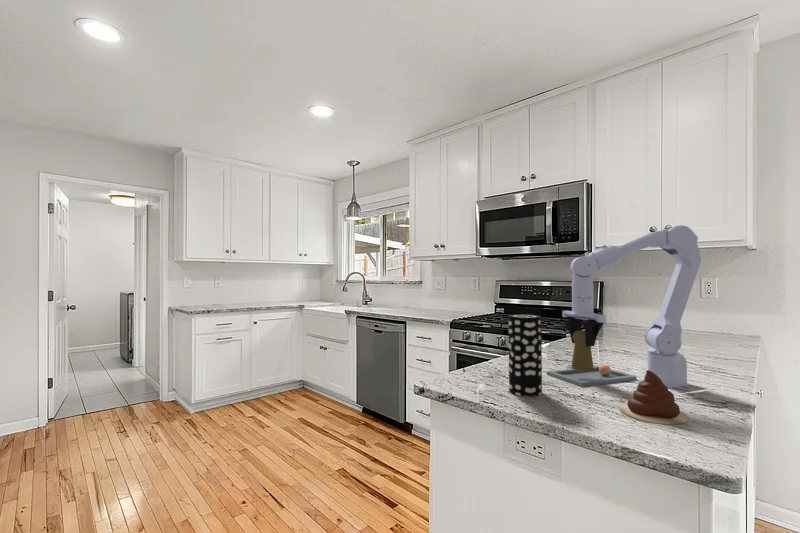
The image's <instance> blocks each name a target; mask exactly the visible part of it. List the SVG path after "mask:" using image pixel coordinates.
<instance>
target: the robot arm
mask: <svg viewBox="0 0 800 533" xmlns="http://www.w3.org/2000/svg"><path fill="white" fill-rule="evenodd" d="M698 241H699V237H698V236H697V234H696V233H695V232H694V231H693V230H692V229H691V228H690V227H688V226H687V225H675V226H674V227H669V228H664V229H661V230H656V231H653V232H649V233H646V234H644V235H642V236H639V237H637V238H635V239H632V240H630V241H628V242H626V243H623V244H620V245H618V246H615V245H612V244H609V245H606V244H603V245H601V246H600V248H599V249H596V250H594V251H592V252H588V251H587V252H585V253H584V255H582V256H579V257H576V258H573V260H572V261H571V263H570V266H569V270H570V273H571V274H572V276H571V280H572V281H571V310H562V312H561V314H562V318H566V319H563V322H564V324H565V326H566V328H567V329H568V332H569V336H570V338H571V342H572V344H575V341H574V340H573V333H574V332H575V331H580V330H581V328H582V326H583V329H584V331H585V333H586V344H587V346H589V347H590V346H591V347H595V344H596V340H597V337H598V334H599V332H600V330H601V328H602V327H603V326H604V323H606V315H605V314H600V313H595V311H594V280H593V279H594V278H593V276H594V275H593V274H594V273H595V272H600V271H602V270H605V269H607V268H609V267H612V266H614V265H617V264H619V263H620V262H621V260H622V257H625V256H628V255H630V254H632V253H633V254H634V253H636V252H639V251H641V250H643V249H647V248H660V249H661V250H662V251H664V252H666V253H667V254H669V255H670V256H671V258H672V259H673V261H674V262H675V267H674V270H673V271H672V276H671V278H670V282H669V284H668V288H667V290H666V293H665V297H664V299H663V302H662V305H661V308H660V311H659V314H658V315H657V317H656V318H655V319H654V320H653V322H652V324H651V326H650V327H649V328H648V329H647V330H646V331H645V334H644V340H645V343H646V344H647V345H648V349H647V370H649V371H651V372H653V373H655V374H656V375H657V376H658V377H659V378H660V379H661V380H662V382H663V384H664V385H666V386H667V388H668V389H671V388H677V387H684V386H690V385H691V384H690V383H688V365H687V364H688V362H687V360H686V359H687V358H686V357H685V356H684V355H683V354H682V353H681V352H679V351H680V349H681V348H682V343H683V341H682V338H681V337H682V333H683V328H682V324H681V321H682V318H683V315H684V312H685V310H686V307H687V304H688V300H689V298H690V294H691V292H692V290H693V286H694V283H695V280H696V278H697V275H698V272H699V268H700V266H701V263H702V258H701V253H700V250H699V245H698ZM643 380H644V379H641V380H640V382H641V381H643Z"/></svg>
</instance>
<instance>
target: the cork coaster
mask: <svg viewBox="0 0 800 533" xmlns="http://www.w3.org/2000/svg"><path fill="white" fill-rule="evenodd" d="M619 411H620V413H622V414H623V415H625V416H627V417H629V418H632V419H634V420H637V421H640V422H641V421H642V422H646V423H649V424H650V423H651V424H657V425H667V426H668V425H669V426H670V425H671V426H672V425H682V424H685V423H687V422H689V417H688V415H687V414H686V413H684V412H683V411H680V413H679V415H678V416H677V417H674V418H665V417H661V416H658V415H653V416H644V415H639V414H636V413H634V412H632V411H631V410H630V409H629V408H628V405H627V403H625V404H622V405H620V406H619Z"/></svg>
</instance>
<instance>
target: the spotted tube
mask: <svg viewBox="0 0 800 533" xmlns="http://www.w3.org/2000/svg"><path fill="white" fill-rule="evenodd" d="M542 343H543V342H542V316H541V315H536V314H508V391H509V393H511V394H512V395H515V396H519V397H538V396H541V395H543V377H542V376H543V369H542V367H543V364H542V363H543V361H542V360H543V357H542V356H543V355H542V354H543V352H542V350H543V349H542Z"/></svg>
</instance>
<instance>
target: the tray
mask: <svg viewBox="0 0 800 533" xmlns="http://www.w3.org/2000/svg"><path fill="white" fill-rule="evenodd" d="M600 366H601V365H593V367H594V370H593V371H580V370H575V369H572V368H566V369H558V370H557V369H556V370H546V376H548V377H552V378H555V379H558V380H561V381H563V382H567V383H569V384H572V385H575V386H577V387H581V388H582V387H583V388H584V387H591V386H592V387H593V386H598V385H599V386H600V385H608V384H615V383H616V384H617V383H622V382H624V383H625V382H630V381H637V377H638V376H637V375H633V374H630V373H627V372H623V371H618V370H615V369H611V368H610V369H611V372H610V374H609V375H607V376H604V375H602V374H601V373H600V372H599V367H600Z"/></svg>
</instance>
